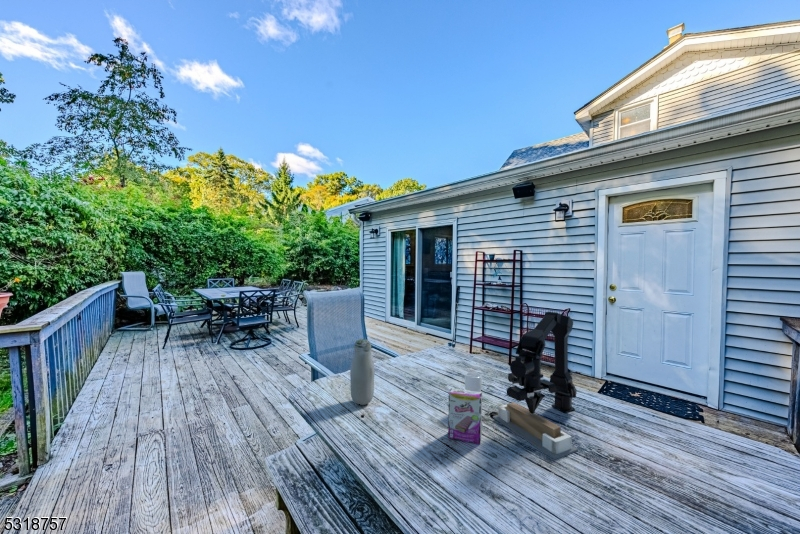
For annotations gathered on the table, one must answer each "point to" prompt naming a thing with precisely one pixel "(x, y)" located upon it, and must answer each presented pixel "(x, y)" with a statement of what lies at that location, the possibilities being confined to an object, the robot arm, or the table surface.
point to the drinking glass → (473, 381)
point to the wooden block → (532, 422)
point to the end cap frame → (547, 444)
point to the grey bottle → (362, 373)
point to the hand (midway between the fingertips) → (531, 413)
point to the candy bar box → (465, 415)
